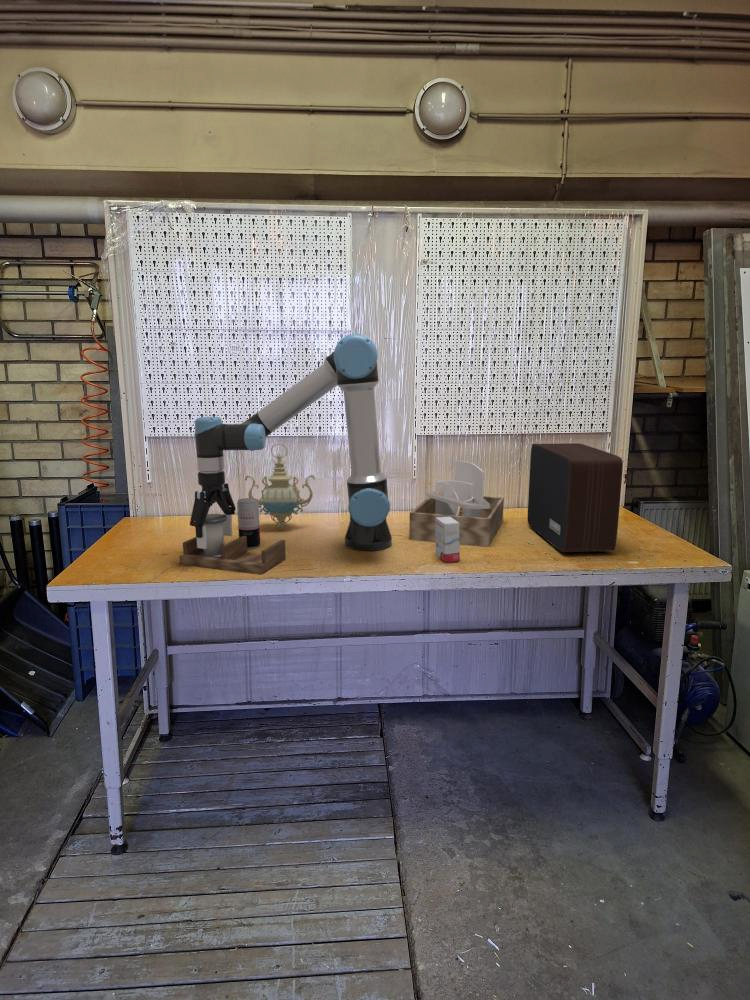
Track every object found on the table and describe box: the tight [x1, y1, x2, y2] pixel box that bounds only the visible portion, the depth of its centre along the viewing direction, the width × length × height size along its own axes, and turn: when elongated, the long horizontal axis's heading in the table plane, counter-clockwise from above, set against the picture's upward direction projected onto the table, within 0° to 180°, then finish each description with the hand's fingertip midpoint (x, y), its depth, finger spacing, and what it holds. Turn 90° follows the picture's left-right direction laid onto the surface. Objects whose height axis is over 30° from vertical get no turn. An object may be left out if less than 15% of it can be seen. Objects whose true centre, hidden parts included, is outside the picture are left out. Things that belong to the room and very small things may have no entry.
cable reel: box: [199, 513, 227, 558], centre depth 184 cm, size 8×8×12 cm
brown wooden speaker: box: [527, 442, 624, 553], centre depth 201 cm, size 36×18×30 cm, turn 4°
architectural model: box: [426, 459, 490, 518], centre depth 213 cm, size 28×21×23 cm
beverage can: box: [236, 497, 261, 550], centre depth 196 cm, size 7×6×15 cm
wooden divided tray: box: [178, 536, 287, 575], centre depth 182 cm, size 27×14×6 cm, turn 71°
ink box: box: [435, 517, 461, 563], centre depth 184 cm, size 9×5×12 cm, turn 13°
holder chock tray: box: [408, 495, 505, 548], centre depth 215 cm, size 26×33×9 cm
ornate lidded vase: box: [244, 443, 316, 530], centre depth 215 cm, size 24×12×30 cm, turn 91°
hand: (215, 541), depth 184 cm, fingers open, 13 cm apart
